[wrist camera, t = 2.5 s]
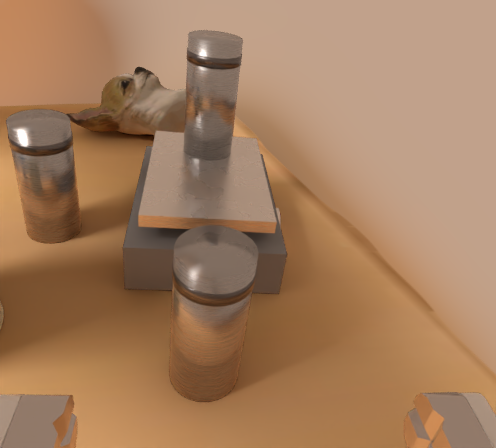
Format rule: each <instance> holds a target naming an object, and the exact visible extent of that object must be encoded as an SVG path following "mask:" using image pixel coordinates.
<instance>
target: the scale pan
mask: <svg viewBox="0 0 496 448" xmlns="http://www.w3.org/2000/svg"><path fill="white" fill-rule="evenodd" d="M276 224H277V221H276V217H275V213H274V209H273V205H272V200H271V196H270V192H269V188H268V184H267V180H266V176H265V171H264V167H263V163H262V159H261V155H260V151H259V146H258V142H257V139H256V138H243V137H232V147H231V154H230V155H229V156H228V157H227V158H225V159H222V160H216V161H207V160H200V159H196V158H193V157H191V156H189V155H188V154H186V153H185V151H184V133H179V132H166V131H156V133H155V137H154V142H153V147H152V152H151V157H150V161H149V166H148V171H147V176H146V180H145V185H144V190H143V195H142V200H141V204H140V209H139V214H138V227H158V228H178V229H192V228H195V227H200V226H207V225H217V226H225V227H229V228H233V229H236V230H238V231H240V232H260V233H275V229H276Z"/></svg>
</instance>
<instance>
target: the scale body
mask: <svg viewBox="0 0 496 448" xmlns="http://www.w3.org/2000/svg"><path fill="white" fill-rule="evenodd" d="M151 152H152V146H147V147H146V151H145V155H144V159H143V164H142V168H141V172H140V176H139V181H138V185H137V189H136V193H135V198H134V202H133V206H132V211H131V215H130V219H129V223H128V228H127V232H126V236H125V240H124V245H123V263H124V285H125V289H141V290H172V287H173V281H172V264H173V259H174V245H175V242H176V240H177V239H178V237H179V236H180V235H182V234H183V233H184V232H186V231H188V230H190V229H178V228H158V227H138V214H139V209H140V204H141V200H142V195H143V190H144V185H145V180H146V176H147V171H148V166H149V161H150V157H151ZM260 155H261V159H262V163H263V167H264V171H265V176H266V180H267V184H268V188H269V192H270V196H271V200H272V205H273V209H274V213H275V217H276V221H277V224H276V229H275V233H260V232H242V233H244V234H245V235H247V236H248V237H249V238H251V239H252V240H253V241H254V243H255V244H256V246H257V249H258V261H257V266H256V269H257V272H256V278H255V284H254V287H253V290H252V293H272V294H279V290H280V286H281V281H282V276H283V272H284V267H285V262H286V257H287V252H286V248H285V244H284V240H283V236H282V232H281V228H280V227H281V218H280V216H281V214H280V211H279V209H278V208H275V204H274V200H273V196H272V191H271V187H270V183H269V179H268V175H267V171H266V167H265V163H264V159H263V155H262V154H260Z"/></svg>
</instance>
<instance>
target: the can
mask: <svg viewBox="0 0 496 448" xmlns="http://www.w3.org/2000/svg"><path fill="white" fill-rule="evenodd" d="M3 319H4V310H3V306H2V303H1V301H0V329H1V327H2V323H3Z"/></svg>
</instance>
